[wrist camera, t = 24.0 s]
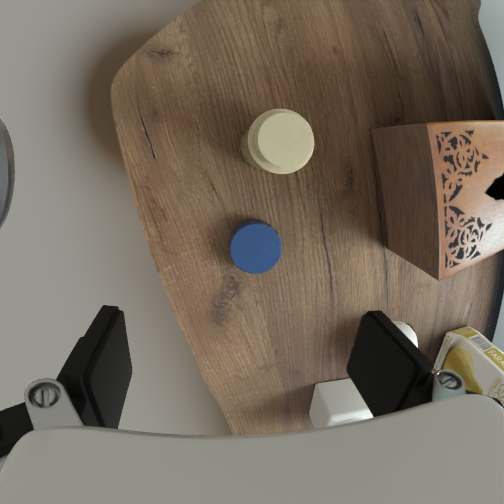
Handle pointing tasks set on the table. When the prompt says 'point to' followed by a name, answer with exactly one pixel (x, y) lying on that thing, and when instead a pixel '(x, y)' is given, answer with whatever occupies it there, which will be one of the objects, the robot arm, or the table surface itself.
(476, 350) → the juice carton
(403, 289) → the table surface
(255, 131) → the jar
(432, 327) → the table surface
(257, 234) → the jar lid
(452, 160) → the tissue box cover
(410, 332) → the white egg shaped container
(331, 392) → the medicine bottle
